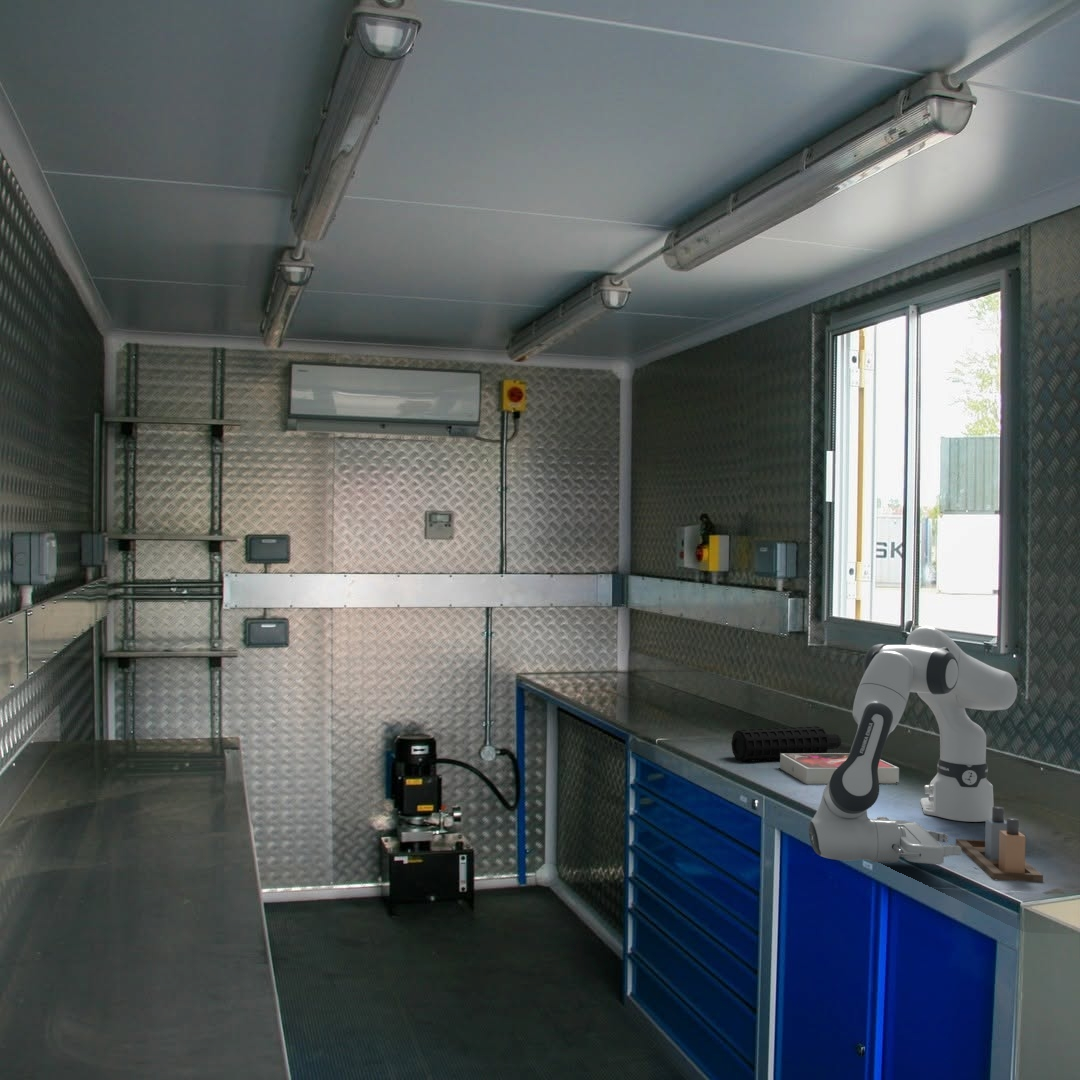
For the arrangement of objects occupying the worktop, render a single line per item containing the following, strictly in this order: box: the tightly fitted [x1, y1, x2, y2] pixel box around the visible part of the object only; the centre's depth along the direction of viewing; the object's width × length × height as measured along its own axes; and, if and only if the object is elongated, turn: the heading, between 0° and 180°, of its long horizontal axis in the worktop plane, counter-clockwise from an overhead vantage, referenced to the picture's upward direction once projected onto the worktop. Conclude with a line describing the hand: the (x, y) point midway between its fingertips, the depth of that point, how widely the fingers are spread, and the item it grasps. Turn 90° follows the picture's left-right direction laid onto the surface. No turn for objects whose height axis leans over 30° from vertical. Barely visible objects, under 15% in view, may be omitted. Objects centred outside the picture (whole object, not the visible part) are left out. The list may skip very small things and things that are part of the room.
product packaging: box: [779, 752, 900, 785], centre depth 328 cm, size 22×28×5 cm
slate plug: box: [984, 806, 1007, 860], centre depth 241 cm, size 4×4×12 cm
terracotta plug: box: [999, 817, 1026, 873], centre depth 232 cm, size 4×4×12 cm
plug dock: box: [955, 838, 1044, 883], centre depth 241 cm, size 26×10×2 cm, turn 176°
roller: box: [731, 726, 842, 763], centre depth 353 cm, size 38×10×10 cm, turn 110°
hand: (953, 843), depth 233 cm, fingers open, 8 cm apart
